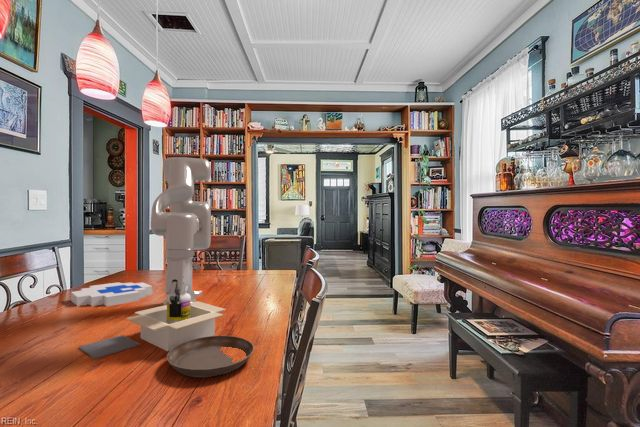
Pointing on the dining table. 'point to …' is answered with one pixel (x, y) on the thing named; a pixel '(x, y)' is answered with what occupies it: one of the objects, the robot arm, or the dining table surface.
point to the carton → (176, 325)
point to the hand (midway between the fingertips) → (178, 312)
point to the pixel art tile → (111, 294)
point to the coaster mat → (108, 346)
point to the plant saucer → (207, 356)
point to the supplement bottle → (184, 310)
